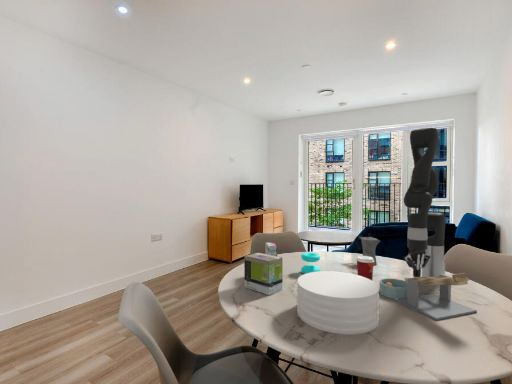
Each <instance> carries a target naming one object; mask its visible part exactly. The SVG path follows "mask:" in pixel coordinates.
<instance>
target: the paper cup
mask: <svg viewBox="0 0 512 384" xmlns="http://www.w3.org/2000/svg"><path fill="white" fill-rule="evenodd" d="M355 260H356V267H357V269H356V270H357V272H356V273H357V275H359V276H362V277H365V278H368V279H370V280H372V281H373V278H374V277H373V275H374V266H373V263H374V259H373V258H372V257H369V256H362V255H358V256H356V259H355Z"/></svg>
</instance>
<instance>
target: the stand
mask: <svg viewBox="0 0 512 384" xmlns="http://www.w3.org/2000/svg"><path fill="white" fill-rule="evenodd" d="M440 277H451V276H450V275H447V274H445V275H444V274H440ZM407 278H408V296H407V298H402V299H396V302H397V303H399V304H401V305H403V306H405V307H408V308H409V309H411V310H414V311H415V312H417V313H419V314H421V315H424V316H426V317H428V318H430V319H432V320H434V321H436V322H437V321H443V320H445V319H446V320H447V319H452V318H456V317H461V315H462V316H465V314H467V315H471V314H470V313H472V314H475V313H474V312H477V313H478V310H477V309H475V308H472V307H469V306H467V305H464V304H462V303H459V302H457V301H453V300H452V299H451V298H452V297H451V296H452V285H439V295H438V294H436V293H429V294H421V295H419V281H417V280H414V279H411V278H412V277H407Z"/></svg>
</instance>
